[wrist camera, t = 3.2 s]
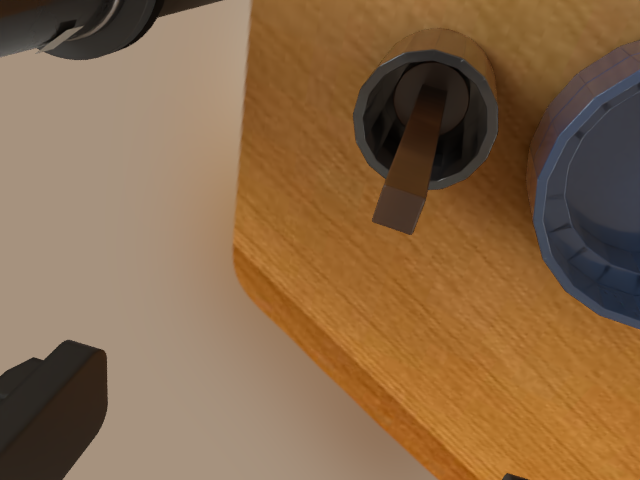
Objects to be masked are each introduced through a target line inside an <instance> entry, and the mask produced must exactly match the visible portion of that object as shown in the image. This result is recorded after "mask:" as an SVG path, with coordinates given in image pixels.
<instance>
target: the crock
mask: <svg viewBox="0 0 640 480" xmlns="http://www.w3.org/2000/svg"><path fill="white" fill-rule="evenodd" d="M426 61H435V62H438V63H441V64H445V65H448V66H451V67H454V68H457V69H458V70H459V71H461V72H462V73H463V74H464V75H465V76H466V77H467V78H468V79H469V83H470V103H469V108H468V111H467V113H466V115H465V117H464V119H463V120H462V122H461V123H460V124H459V125H458V126H457V127H456V128H454V129H453V130H452V131H450V132H448V133H446V134H443V135H440V136H439V138H438V143H437V148H436V153H435V157H434V162H433V167H432V172H431V177H430V182H429V187H428V190H438V189H444V188H446V187H448V186H451V185H453V184H455V183H458V182H460V181H462V180H465V179H466V178H468V177H469V176H470V175H471V174H472V173H473V172H474V171H475V170H476V169H477V168H478V167H479V166H480V165H481V164H482V163H483V162H484V161H485V160H486V159H487V158H488V155H489V153H490V151H491V148H492V146H493V144H494V141H495V139H496V137H497V134H498V101H497V91H496V81H495V74H494V72H493V69H492V66H491V64H490V61H489V59H488V58H487V56H486V54H485V53H484V51H483V50H482V49H481V48H480V47H479V46H478V45H477V44H476V43H475V42H474V41H473V40H472V39H470V38H469V37H467V36H465V35H463V34H461V33H459V32H456V31H453V30H449V29H440V28H435V29H426V30H421V31H418V32H415V33H413V34H411V35H409V36H407V37H405V38H404V39H402V40H401V41H399V42H397V43H396V44H395V45H394V46H393V47H392V49H391V50H390V51H389V52H388V54H387V55H386V56H385V57H384V59H383V60H382V61H381V62H380V64H379V65H378V66H377V68H376V69H375V70H374V71H373V73H372V74H371V75H370V77H369V78H368V79H367V81H366V82H365V83H364V84H363V86H362V87H361V89H360V92H359V95H358V99H357V102H356V105H355V109H354V112H353V121H354V130H355V140H356V143H357V145H358V147H359V148H360V150H361V152H362V154H363V156H364V158H365V160H366V161H367V163H368V164H369V166H370V167H372V168H373V169H374V170H375V171H376V172H378V173H379V174H380V175H381V176H382V177H384V178H385V179H386V178H387V175H388V173H389V170H390V167H391V165H392V162H393V159H394V157H395V154H396V152H397V149H398V146H399V144H400V141H401V139H402V136H403V133H404V131H405V128H406V127H405V126H404V125H403V124H402V123H401V122H400V121H399V119H398V117H397V115H396V113H395V110H394V105H393V95H394V90H395V87H396V84H397V82H398V81H399V79H400V77H401V75H402V73H403V72H404V70H405V69H406V68H407V67H408V66H409V65H410V64H411V63H415V62H426Z"/></svg>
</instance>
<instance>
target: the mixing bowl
mask: <svg viewBox="0 0 640 480" xmlns="http://www.w3.org/2000/svg"><path fill="white" fill-rule="evenodd" d="M526 187H527V192H528V198H529V203H530V209H531V214H532V220H533V224H534V228H535V232H536V236H537V240H538V244H539V248H540V251H541V255H542V258H543V260H544V262H545V263H546V265H547V266H548V267H549V269H550V270H551V272H552V273H553V275H554V276H555V277H556V279H557V280H558V282H559V283H560V284H561V286H562V287H563V289H564V290H565V291H566V292H567V293H569V294H570V295H572V296H573V297H574V298H576V299H577V300H578V301H580V302H581V303H583V304H584V305H585V306H587V307H588V308H590V309H591V310H592V311H594V312H595V313H597V314H598V315H600V316H603V317H606V318H608V319H611V320H614V321H617V322H620V323H623V324H626V325H629V326H631V327H634V328H637V329H640V40H638V41H635V42H632V43H628V44H625V45H622V46H620V47H618V48H616V49H615V50H613V51H611V52H610V53H608V54H607V55H605V56H604V57H602V58H601V59H599V60H597V61H596V62H594V63H593V64H591V65H590V66H588V67H586V68H585V69H583V70H582V71H580V72H579V73H578V74H576V75H575V76H574V78H573V79H572V80H571V81H570V82H569V83H568V84H567V85H566V87H565V88H564V89H563V90H562V91H561V92H560V93H559V94H558V95H557V97H556V98H555V99H554V100H553V101H552V102H551V103H550V104H549V106H548V108H547V109H546V111H545V113H544V115H543V117H542V119H541V121H540V124H539V126H538V128H537V130H536V132H535V134H534V136H533V139H532V141H531V143H530V146H529V155H528V165H527V174H526Z"/></svg>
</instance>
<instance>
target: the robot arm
mask: <svg viewBox="0 0 640 480" xmlns="http://www.w3.org/2000/svg"><path fill="white" fill-rule="evenodd" d="M124 1H125V0H0V57H3V56H7V55H11V54H15V53H19V52H23V51H26V50H31V49H34V48H38V47H42V46H45V47H44V48H42V49H41V50H40V51H38V52H37V53H40V52H44V51H47V50H51V49H54V48H55V47H56V46H58V45H59V44H60V43H62V42H63V41H72V40H77V39H81V38H85V37H88V36H91V35H94V34H96V33H98V32H100V31H101V30H103V29H104V28H106V27H107V26H108V25H109V24H110V23H111V22H112V21H113V20H114V19H115V17H116V16H117V15H118V13H119V11H120V9H121V8H122V5H123V3H124ZM107 405H108V397H107V356H106V353H105V351H104V350H101V349H98V348H95V347H91V346H88V345H85V344H81V343H78V342H75V341H72V340H66V341H64V342H62V343H61V344H60V345H59V346H58V347H57V348H56V349H55V350H54V351H53V352H52V353H51V354H50V355H49V356H48V357H47V358H45V360H41V359H37V358H34V357H33V358H31V359H29V360H27V361H25V362H23V363H21V364H19V365H17V366H15V367H13V368H11V369H9V370H7V371H6V372H5V373H4V374H2V375H1V376H0V480H62V479H63V478H64V477H65V475H66V474H67V473H68V471H69V470H70V469H71V468H72V466H73V465H74V464H75V462H76V461H77V460H78V458H79V457H80V456H81V455H82V453H83V452H84V451H85V449H86V448H87V447H88V445H89V444H90V443H91V442H92V440H93V439H94V438H95V436H96V435H97V433H98V432H99V430H100V428H101V426H102V424H103V421H104V419H105V416H106V412H107ZM502 480H528V479H525V478H522V477H519V476H515V475H512V474H509V473H507V474H506V475H505V476H504V477H503V479H502Z"/></svg>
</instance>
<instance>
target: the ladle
mask: <svg viewBox="0 0 640 480" xmlns="http://www.w3.org/2000/svg"><path fill="white" fill-rule="evenodd" d="M469 103H470V83H469V79H468V78H467V77H466V76H465V75H464V74H463V73H462V72H461V71H459V70H458V69H457V68H454V67H451V66H448V65H445V64H441V63H438V62H435V61H426V62H415V63H411V64H410V65H409V66H408V67H407V68H406V69H405V70H404V72H403V73H402V75H401V77H400V79H399V81H398V82H397V84H396V87H395V90H394V95H393V105H394V110H395V113H396V115H397V117H398V119H399V121H400V122H401V123H402V124H403V125H404V126H405V127H406V128H405V131H404V133H403V136H402V139H401V141H400V144H399V146H398V149H397V152H396V154H395V157H394V159H393V162H392V165H391V167H390V170H389V173H388V175H387V178H386V180H385V183H384V186H383V188H382V191H381V194H380V197H379V200H378V203H377V206H376V209H375V212H374V215H373V218H372V221H373V222H374V223H377V224H380V225H383V226H386V227H389V228H392V229H395V230H397V231H400V232H403V233H406V234H409V235H412V234H413V232H414V229H415V227H416V224H417V222H418V219H419V216H420V214H421V211H422V209H423V206H424V204H425V201H426V197H427V192H428V187H429V182H430V177H431V172H432V167H433V162H434V157H435V153H436V148H437V143H438V138H439V136H440V135H443V134H446V133H448V132H450V131H452V130H453V129H454V128H456V127H457V126H458V125H459V124H460V123H461V122H462V120H463V119H464V117H465V115H466V113H467V111H468V108H469Z"/></svg>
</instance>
